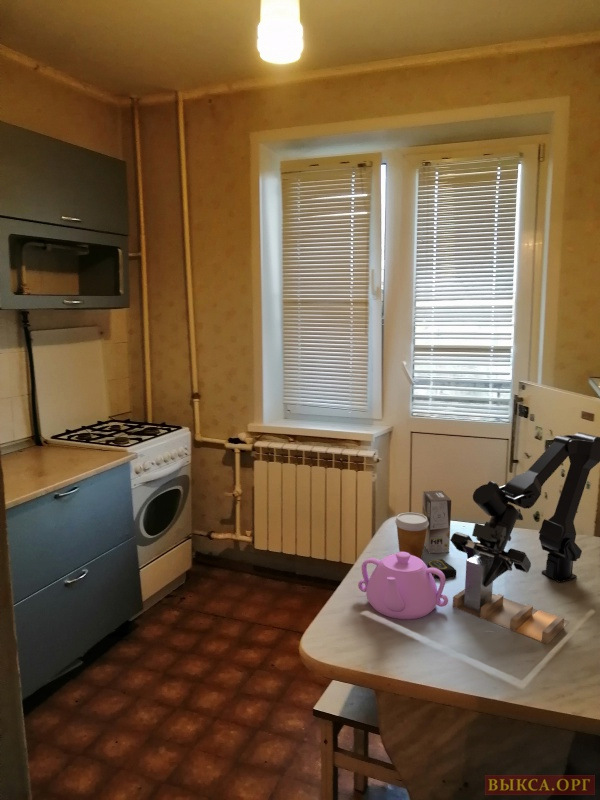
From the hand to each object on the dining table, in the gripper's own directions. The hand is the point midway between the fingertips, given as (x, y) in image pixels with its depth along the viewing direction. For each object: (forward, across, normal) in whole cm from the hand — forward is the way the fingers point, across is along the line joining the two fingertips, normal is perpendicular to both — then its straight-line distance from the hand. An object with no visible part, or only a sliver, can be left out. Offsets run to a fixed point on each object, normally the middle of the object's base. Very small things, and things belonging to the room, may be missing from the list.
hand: (476, 583), depth 144 cm
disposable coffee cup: (-5, -28, +16) cm, 33 cm away
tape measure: (-2, -16, +13) cm, 21 cm away
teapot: (+14, -13, -3) cm, 20 cm away
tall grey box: (+4, 0, +6) cm, 7 cm away
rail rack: (+3, +7, +7) cm, 11 cm away
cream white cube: (-16, -13, +27) cm, 34 cm away
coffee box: (-13, -27, +24) cm, 39 cm away
